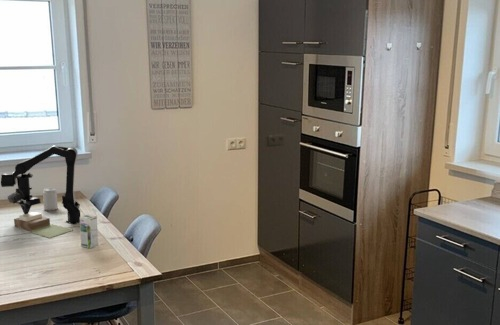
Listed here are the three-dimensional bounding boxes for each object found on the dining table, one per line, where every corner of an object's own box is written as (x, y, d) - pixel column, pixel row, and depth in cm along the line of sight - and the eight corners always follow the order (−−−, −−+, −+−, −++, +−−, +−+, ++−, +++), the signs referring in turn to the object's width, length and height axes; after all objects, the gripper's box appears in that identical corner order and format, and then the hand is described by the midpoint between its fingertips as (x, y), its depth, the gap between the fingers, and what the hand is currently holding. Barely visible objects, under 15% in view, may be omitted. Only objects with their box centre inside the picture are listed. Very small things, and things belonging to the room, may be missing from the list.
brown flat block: (50, 225, 279) (49, 218, 278) (31, 231, 270) (30, 223, 269) (33, 221, 286) (32, 213, 285) (14, 226, 277) (14, 219, 276)
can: (60, 207, 311) (58, 187, 309) (54, 211, 304) (52, 190, 302) (47, 207, 312) (46, 187, 310) (41, 210, 305) (40, 190, 302)
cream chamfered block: (41, 217, 280) (41, 213, 279) (26, 221, 272) (26, 217, 272) (34, 215, 283) (34, 211, 283) (19, 219, 276) (19, 215, 275)
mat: (72, 230, 272) (72, 229, 271) (49, 238, 260) (49, 237, 260) (52, 224, 280) (52, 224, 280) (28, 232, 268) (28, 231, 268)
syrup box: (80, 246, 249) (78, 216, 246) (89, 242, 254) (88, 213, 252) (89, 248, 247) (88, 218, 244) (98, 244, 252) (97, 215, 249)
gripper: (-2, 186, 275) (1, 215, 278) (20, 191, 265) (23, 222, 268) (18, 182, 284) (20, 210, 287) (40, 187, 274) (42, 216, 277)
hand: (26, 215), depth 280 cm, fingers closed
